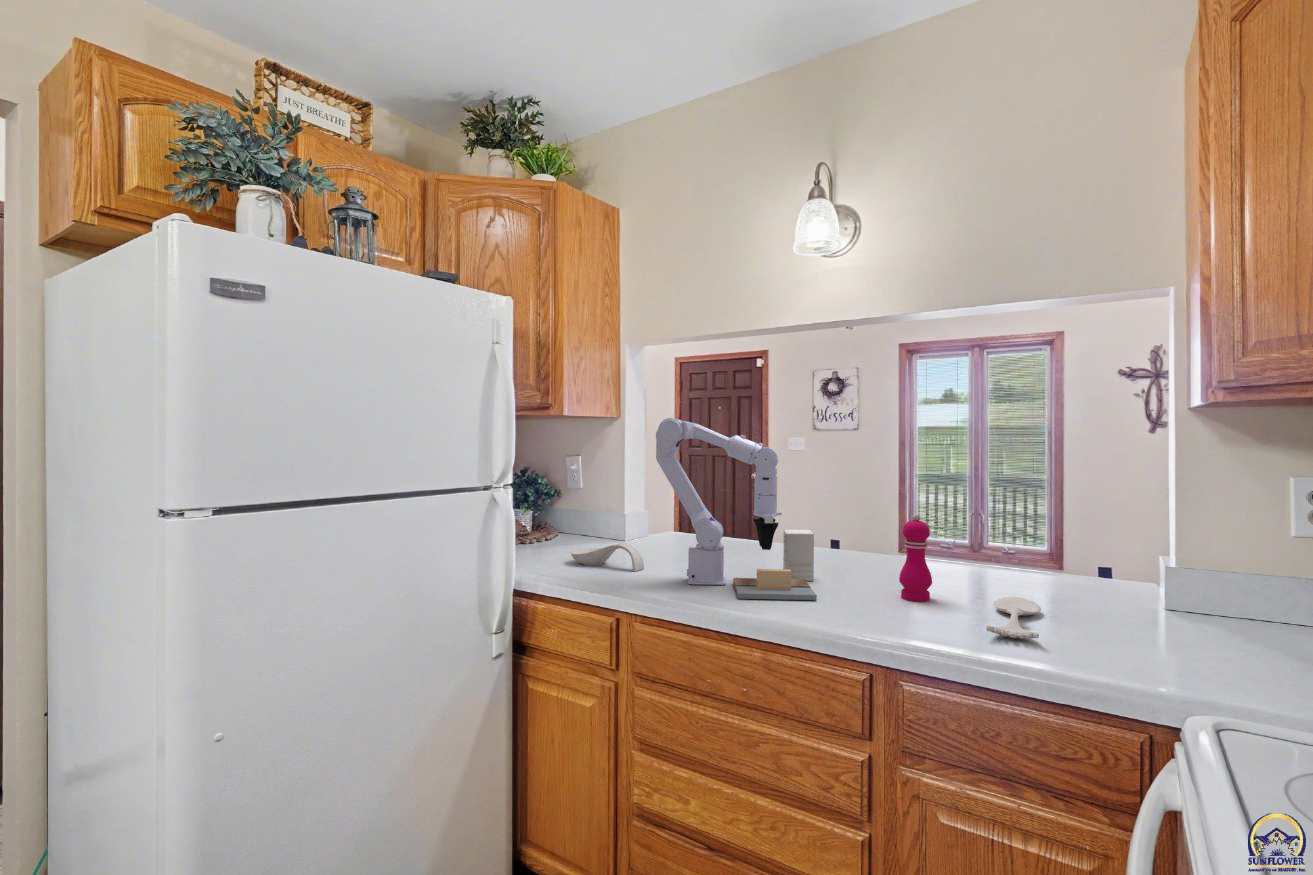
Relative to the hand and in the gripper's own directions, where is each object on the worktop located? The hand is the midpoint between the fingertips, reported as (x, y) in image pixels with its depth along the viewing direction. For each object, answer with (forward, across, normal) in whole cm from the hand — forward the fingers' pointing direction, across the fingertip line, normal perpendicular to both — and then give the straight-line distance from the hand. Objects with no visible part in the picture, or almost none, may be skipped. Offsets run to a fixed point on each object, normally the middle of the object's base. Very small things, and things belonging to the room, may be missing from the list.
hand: (765, 547), depth 167 cm
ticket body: (+9, -4, -1) cm, 10 cm away
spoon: (+10, -31, -47) cm, 57 cm away
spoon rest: (+10, +21, +43) cm, 49 cm away
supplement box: (+10, +9, -10) cm, 16 cm away
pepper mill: (+10, -11, -34) cm, 37 cm away
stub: (+9, -12, -1) cm, 15 cm away
